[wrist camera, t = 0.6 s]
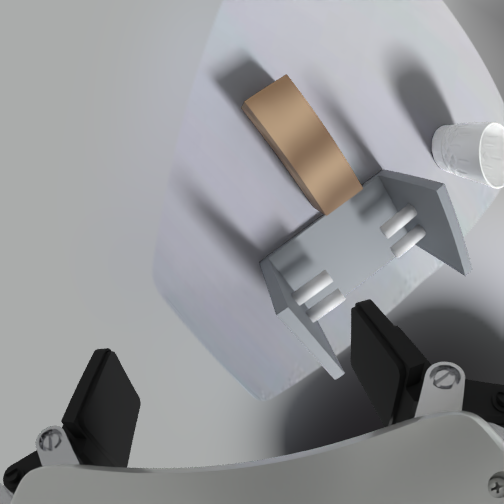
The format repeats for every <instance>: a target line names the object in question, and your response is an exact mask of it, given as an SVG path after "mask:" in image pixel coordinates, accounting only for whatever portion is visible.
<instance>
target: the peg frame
mask: <svg viewBox="0 0 504 504" xmlns="http://www.w3.org/2000/svg"><path fill="white" fill-rule="evenodd" d="M362 187H363V189H362V190H361V191H360V192H358V193H357V194H356V195H354V196H353V197H352V198H350V199H349V200H348V201H346V202H345V203H343V204H342V205H341V206H339V207H338V208H337V209H335V210H334V211H333V212H331V213H330V214H329V215H327V216H326V215H324V214H323V215H322V216H321V217H319V218H318V219H317V220H316V221H314V222H313V223H312V224H310V225H309V226H308V227H306V228H305V229H304V230H302V231H301V232H300V233H298V234H297V235H296V236H294V237H293V238H292V239H290V240H289V241H287V242H286V243H285V244H283V245H282V246H281V247H279V248H278V249H277V250H275V251H274V252H273V253H271V254H270V255H269V256H267V257H266V258H265V259H263V260H262V261H261V262H259V263H260V266H261V269H262V272H263V275H264V278H265V281H266V284H267V287H268V291H269V294H270V297H271V300H272V303H273V306H274V309H275V312H276V315H277V316H278V318H279V319H280V320H281V321H282V322H283V323H284V324H285V325H286V326H287V328H288V329H289V330H290V331H291V332H292V333H293V334H294V335H295V336H296V338H297V339H298V340H299V341H300V342H301V343H302V344H303V345H304V346H305V348H306V349H307V350H308V351H309V352H310V353H311V354H312V355H313V356H314V357H315V359H316V360H317V361H318V362H319V363H320V364H321V365H322V366H323V367H324V368H325V369H326V371H327V372H328V373H329V374H330V375H331V376H332V377H333V378H334V379H335V380H336V379H337V378H339V377H340V376H342V375H343V374H344V371H343V369H342V367H341V365H340V364H339V361H338V359H337V357H336V355H335V354H334V352H333V350H332V348H331V346H330V344H329V342H328V340H327V338H326V336H325V334H324V332H323V330H322V328H321V327H320V325H319V323H318V321H317V320H318V319H320V318H321V317H322V316H324V315H325V314H327V313H328V312H329V311H331V310H332V309H333V308H335V307H336V306H338V305H339V304H340V303H342V302H343V301H344V300H346V299H345V296H347V295H348V294H349V293H351V292H352V291H353V290H354V289H356V288H357V287H358V286H360V285H361V284H362V283H364V282H365V281H366V280H368V279H369V278H370V277H371V276H373V275H374V274H375V273H376V272H378V271H379V270H380V269H381V268H383V267H384V266H385V265H386V264H388V263H389V262H390V261H391V260H393V259H394V258H395V257H397V258H399V257H401V256H402V255H403V254H404V253H405V252H406V251H408V250H409V249H410V248H411V247H412V246H414V245H417V246H418V247H420V248H422V249H423V250H425V251H427V252H428V253H430V254H431V255H433V256H435V257H436V258H438V259H439V260H441V261H443V262H444V263H446V264H447V265H449V266H451V267H452V268H454V269H455V270H457V271H458V272H460V273H461V274H463V275H464V276H466V275H467V274H468V273H469V272H470V271H471V270H472V267H471V263H470V259H469V255H468V252H467V248H466V245H465V241H464V238H463V235H462V231H461V228H460V225H459V222H458V219H457V216H456V213H455V210H454V208H453V205H452V202H451V199H450V197H449V194H448V192H447V189H446V186H445V184H443V183H440V182H436V181H432V180H428V179H424V178H420V177H415V176H411V175H407V174H402V173H398V172H393V171H388V170H381V171H380V172H379V173H377V174H376V175H375V176H374V177H372V178H371V179H370V180H368V181H367V182H366V183H364V184H363V185H362Z"/></svg>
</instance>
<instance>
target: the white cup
mask: <svg viewBox="0 0 504 504" xmlns="http://www.w3.org/2000/svg"><path fill="white" fill-rule="evenodd" d="M432 154H433V157H434V161H435V162H436V163H437V165H438V166H439V168H440V169H442V170H444V171H446V172H448V173H452V174H455V175H457V176H460V177H463V178H466V179H469V180H471V181H475V182H478V183H481V184H484V185H487V186H490V187H492V188H496V189H499V188H502V187H503V186H504V127H503V126H502V125H501V124H499V123H497V122H476V123H460V124H455V125H443V126H441V127H440V128H438V129H437V130H436V131H435V133H434V136H433V138H432Z"/></svg>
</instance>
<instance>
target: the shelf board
mask: <svg viewBox="0 0 504 504" xmlns="http://www.w3.org/2000/svg"><path fill="white" fill-rule="evenodd" d="M241 109H242V110H243V111H244V112H245V114H246V115H247V116H248V117H249V119H250V120H251V121H252V123H253V124H254V125H255V127H256V128H257V129H258V130H259V132H260V133H261V134H262V136H263V137H264V138H265V140H266V141H267V142H268V144H269V145H270V146H271V148H272V149H273V151H274V152H275V153H276V155H277V156H278V157H279V159H280V160H281V162H282V163H283V164H284V166H285V167H286V168H287V170H288V171H289V173H290V174H291V176H292V177H293V178H294V180H295V181H296V183H297V184H298V186H299V187H300V188H301V190H302V191H303V193H304V194H305V196H306V197H307V199H308V200H309V202H310V203H311V205H312V206H313V207H314V208H315V209H317V210H318V211H320V212H321V213H323V214H324V215H326V216H327V215H329V214H330V213H331V212H333V211H334V210H335V209H337V208H338V207H339V206H341V205H342V204H343V203H345V202H346V201H348V200H349V199H350V198H352V197H353V196H354V195H356V194H357V193H358V192H360V191H361V190H362V189H363V187H362V185H361V184H360V182H359V180H358V179H357V177H356V175H355V174H354V172H353V170H352V169H351V167H350V165H349V164H348V162H347V160H346V159H345V157H344V156H343V154H342V152H341V151H340V149H339V148H338V146H337V144H336V143H335V141H334V140H333V138H332V137H331V135H330V134H329V132H328V131H327V129H326V128H325V126H324V125H323V123H322V122H321V120H320V119H319V118H318V116H317V115H316V113H315V112H314V110H313V109H312V108H311V106H310V105H309V103H308V102H307V101H306V99H305V98H304V97H303V95H302V94H301V92H300V91H299V90H298V88H297V87H296V86H295V84H294V83H293V82H292V81H291V79H290V78H289V77H288V75H287V74H286V75H285V76H283V77H281V78H280V79H278V80H276V81H275V82H273V83H272V84H270V85H269V86H267V87H265V88H264V89H262V90H261V91H259V92H258V93H256V94H255V95H253V96H252V97H250V98H249V99H247V100H246V101H244V103H243V105H242V107H241Z"/></svg>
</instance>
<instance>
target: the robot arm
mask: <svg viewBox="0 0 504 504" xmlns="http://www.w3.org/2000/svg"><path fill="white" fill-rule="evenodd" d="M351 365H352V368H353V370H354V371H355V373H356V375H357V377H358V379H359V380H360V382H361V384H362V386H363V387H364V390H365V391H366V393H367V395H368V397H369V399H370V400H371V402H372V404H373V406H374V408H375V410H376V412H377V413H378V415H379V417H380V419H381V421H382V423H383V425H384V426H385V428H382V429H379V430H376V431H374V432H370V433H367V434H364V435H361V436H358V437H355V438H351V439H348V440H345V441H341V442H338V443H334V444H331V445H327V446H324V447H320V448H316V449H312V450H308V451H303V452H299V453H294V454H290V455H285V456H280V457H274V458H269V459H263V460H257V461H250V462H244V463H235V464H227V465H217V466H206V467H190V468H162V469H161V468H158V469H157V468H153V469H152V468H150V469H149V468H127V465H128V460H129V455H130V450H131V445H132V440H133V435H134V431H135V427H136V422H137V418H138V413H139V409H140V398H139V396H138V394H137V393H136V391H135V389H134V387H133V386H132V384H131V382H130V380H129V378H128V377H127V375H126V373H125V371H124V369H123V367H122V365H121V363H120V361H119V360H118V357H117V356H116V354H115V352H112V351H111V350H110V349H108V348H107V349H97V350H95V351H94V353H93V355H92V357H91V359H90V361H89V363H88V365H87V367H86V369H85V371H84V373H83V375H82V377H81V379H80V381H79V384H78V385H77V388H76V390H75V392H74V394H73V396H72V398H71V400H70V403H69V405H68V407H67V409H66V412H65V414H64V416H63V418H62V423H63V427H62V428H61V427H58V426H50V427H47V428H46V429H44V430H43V431H42V432H41V433H40V434H39V435H38V437H37V439H36V448H37V451H35V452H33V453H31V454H30V455H28V456H26V457H25V458H23V459H21V460H20V461H18V462H16V463H14V464H13V465H11V466H10V467H8V468H7V470H6V471H5V474H4V477H3V482H4V485H2V484H0V504H504V385H499V384H491V383H485V382H479V381H472V380H466V379H465V374H464V372H463V370H462V369H461V368H460V367H459V366H458V365H455V364H454V363H450V362H439V363H435V364H433V365H431V364H430V363H429V361H428V360H427V359H426V358H425V357H424V355H423V354H422V353H421V352H420V351H419V350H418V348H417V347H416V346H415V345H414V344H413V343H412V342H411V340H410V339H409V338H408V337H407V336H406V335H405V333H404V332H403V331H402V330H401V329H400V328H399V327H398V326H394V325H393V324H392V323H391V322H390V321H389V320H388V318H387V317H386V316H385V315H384V314H383V313H382V312H381V310H380V309H379V308H378V307H377V306H376V305H375V304H374V303H373V301H372V300H370V299H369V300H365V301H361V302H358V303H356V304H355V307H353V308H352V309H351Z"/></svg>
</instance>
